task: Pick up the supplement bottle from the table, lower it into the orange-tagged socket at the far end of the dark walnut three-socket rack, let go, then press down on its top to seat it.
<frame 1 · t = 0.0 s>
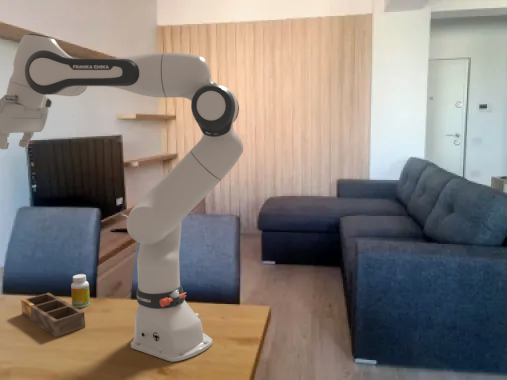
hand: (13, 147, 121), 52 cm above the table, tool tilted 20°, fingers open, 8 cm apart
supplement bottle: (81, 305, 149), on the table
socket rack: (52, 320, 137), on the table
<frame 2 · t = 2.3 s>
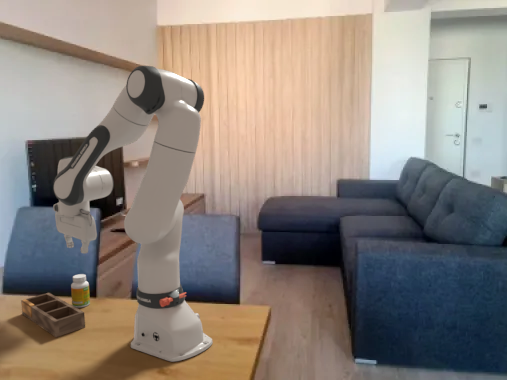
hand: (77, 250, 146), 18 cm above the table, tool pointing down, fingers open, 8 cm apart
nothing on the table moved.
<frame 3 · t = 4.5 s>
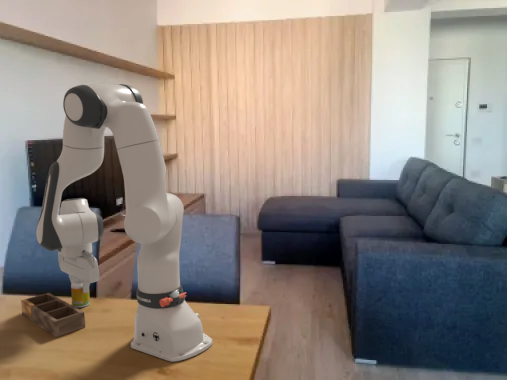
hand: (80, 289, 148), 5 cm above the table, tool pointing down, fingers closed on supplement bottle, 5 cm apart
supplement bottle: (81, 305, 149), on the table, touching gripper
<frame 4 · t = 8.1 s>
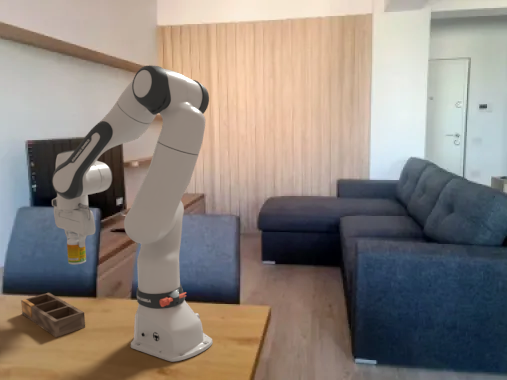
hand: (76, 245, 146), 20 cm above the table, tool pointing down, fingers closed on supplement bottle, 5 cm apart
supplement bottle: (77, 262, 147), point 14 cm above the table, touching gripper
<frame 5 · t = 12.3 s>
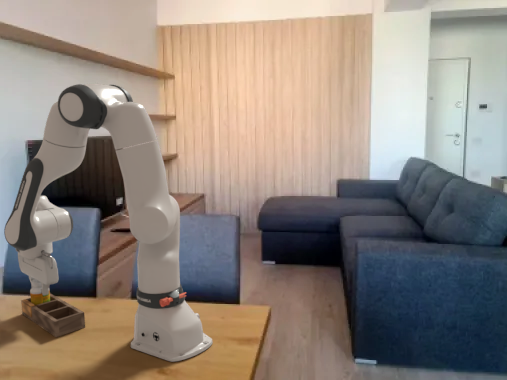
hand: (40, 291, 141), 7 cm above the table, tool pointing down, fingers closed on supplement bottle, 5 cm apart
supplement bottle: (41, 311, 142), point 1 cm above the table, touching gripper, socket rack
when the fingers open (7 cm above the table, at t = 12.8 s): supplement bottle stays where it is, resting on socket rack.
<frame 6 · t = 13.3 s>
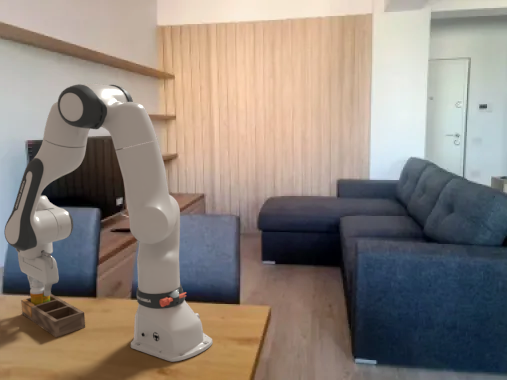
hand: (40, 291, 141), 7 cm above the table, tool pointing down, fingers open, 8 cm apart
supplement bottle: (41, 311, 142), point 1 cm above the table, touching socket rack
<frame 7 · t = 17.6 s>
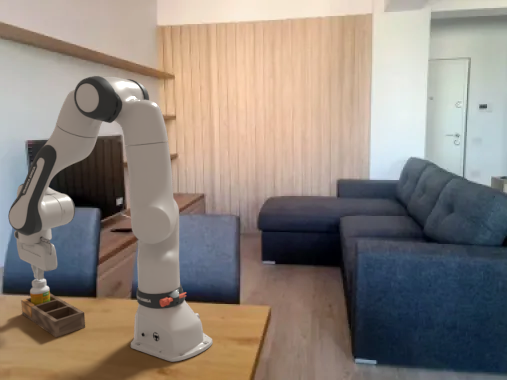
hand: (38, 278, 141), 11 cm above the table, tool pointing down, fingers closed
nothing on the table moved.
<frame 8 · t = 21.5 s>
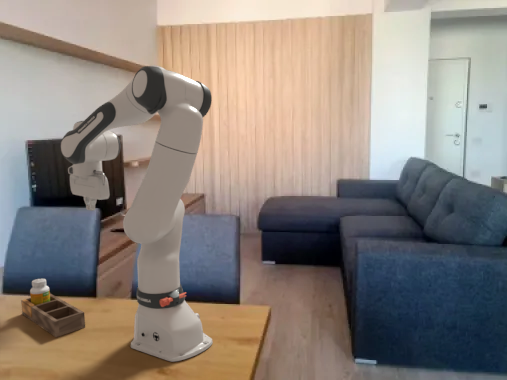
hand: (90, 210, 156), 29 cm above the table, tool pointing down, fingers closed
nothing on the table moved.
at the end: supplement bottle 0.2 cm from the target spot on the socket rack, point 0.8 cm above the socket rack's base; supplement bottle tilted 0°; the gripper is holding nothing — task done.
